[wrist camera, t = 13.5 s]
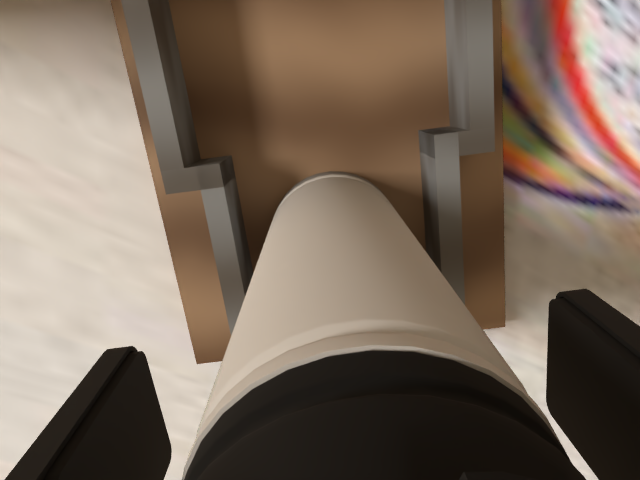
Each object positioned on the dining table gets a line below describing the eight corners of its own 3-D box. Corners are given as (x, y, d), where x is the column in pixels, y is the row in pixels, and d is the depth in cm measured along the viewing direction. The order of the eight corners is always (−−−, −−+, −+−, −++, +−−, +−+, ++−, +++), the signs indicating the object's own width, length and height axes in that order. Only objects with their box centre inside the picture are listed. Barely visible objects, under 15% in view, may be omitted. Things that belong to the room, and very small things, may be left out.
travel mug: (417, 187, 23) (963, 658, 4) (369, 304, 25) (563, 1030, 5) (297, 145, 22) (178, 446, 3) (257, 268, 24) (20, 949, 5)
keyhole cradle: (78, -173, 19) (19, -241, 15) (488, -236, 19) (533, -322, 15) (201, 354, 26) (181, 397, 23) (498, 318, 26) (529, 356, 22)
